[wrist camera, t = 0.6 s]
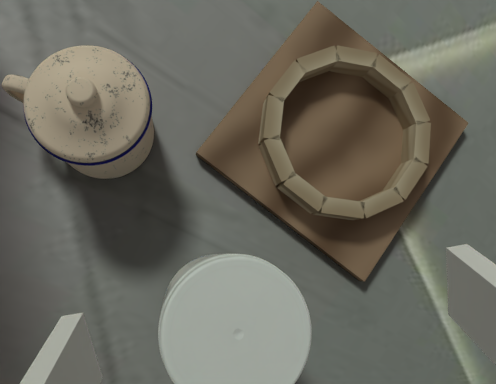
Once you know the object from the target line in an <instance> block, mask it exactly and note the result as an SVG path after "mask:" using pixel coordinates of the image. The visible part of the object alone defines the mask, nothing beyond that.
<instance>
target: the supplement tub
mask: <svg viewBox="0 0 496 384" xmlns="http://www.w3.org/2000/svg"><path fill="white" fill-rule="evenodd" d="M311 337H312V329H311V320H310V314H309V311H308V307H307V305H306V302H305V300H304V298H303V296H302V294H301V292H300V291H299V289H298V288H297V286H296V285H295V284H294V282H293V281H292V280H291V279H290V278H289V277H288V276H287V275H286V274H285V273H284V272H282V271H281V270H280V269H278V268H277V267H276V266H274V265H272V264H271V263H269V262H267V261H265V260H263V259H261V258H258V257H254V256H250V255H244V254H212V255H206V256H202V257H199V258H196V259H194V260H192V261H190V262H189V263H187V264H186V265H185V266H183V267H182V268H181V269H180V270H179V271H178V272H177V273H176V275H175V276H174V277H173V279H172V280H171V282H170V284H169V286H168V288H167V290H166V293H165V296H164V300H163V305H162V310H161V314H160V320H159V329H158V340H159V348H160V353H161V357H162V360H163V363H164V365H165V368H166V370H167V372H168V374H169V376H170V378H171V380H172V381H173V383H174V384H295V383H296V381H297V380H298V378H299V377H300V375H301V373H302V371H303V369H304V367H305V364H306V362H307V359H308V356H309V352H310V346H311Z"/></svg>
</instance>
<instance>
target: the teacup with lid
mask: <svg viewBox="0 0 496 384" xmlns="http://www.w3.org/2000/svg"><path fill="white" fill-rule="evenodd" d="M2 88H3V89H4V90H5V91H6V92H7V93H8V94H9V95H11V96H12V97H14V98H15V99H17V100H19V101H21V102H22V103H23V108H24V116H25V120H26V124H27V126H28V129H29V131H30V132H31V134H32V136H33V137H34V139H35V140H36V141H37V143H38V144H39V145H40V146H41V147H42V148H43V149H44V150H46V151H47V152H48V153H50V154H51V155H53V156H54V157H56V158H58V159H60V160H62V161H65V162H67V163H68V164H69V165H71V166H72V167H73V168H74V169H76V170H77V171H79V172H81V173H82V174H85V175H87V176H90V177H94V178H99V179H112V178H118V177H121V176H124V175H126V174H128V173H130V172H132V171H134V170H135V169H136V168H138V167H139V166H140V165H141V164H142V163H143V162H144V160H145V159H146V158H147V156H148V154H149V152H150V150H151V148H152V145H153V140H154V126H153V121H152V116H151V115H152V99H151V93H150V90H149V87H148V85H147V82H146V80H145V78H144V77H143V75H142V74H141V72H140V71H139V70H138V69H137V67H136V66H135V65H134V64H133V63H131V62H130V61H129V60H128V59H126V58H125V57H123V56H122V55H120V54H118V53H116V52H114V51H111V50H109V49H106V48H102V47H97V46H75V47H70V48H66V49H63V50H61V51H58V52H56V53H54V54H53V55H51V56H49V57H48V58H47V59H45V60H44V61H43V62H42V63H41V64H40V65H39V66H38V67H37V68H36V69H35V71H34V72H33V74H32V75H31V77H30V79H28V78H25V77H22V76H18V75H7V76H6V77H5V78H4V80H3V82H2Z"/></svg>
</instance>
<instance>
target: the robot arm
mask: <svg viewBox="0 0 496 384" xmlns="http://www.w3.org/2000/svg"><path fill="white" fill-rule="evenodd" d="M446 257H447V286H448V314H449V316H450V317H451V318H452V319H453V320H454V321H455V322H456V323H457V324H458V325H459V326H460V327H461V328H462V330H463V331H464V332H465V333H466V334H467V335H468V336H469V337H470V338H471V339H472V340H473V341H474V342H475V344H476V345H477V346H478V347H479V348H480V349H481V350H482V351H483V352H484V353H485V354H486V355H487V356H488V358H489V359H490V360H491V361H492V362H493V363H494V364H495V365H496V264H494V263H493V262H491V261H490V260H489V259H487V258H486V257H484V256H483V255H482V254H480V253H479V252H477V251H476V250H475V249H473V248H472V247H470V246H469V245H468V244H465V245H459V246H454V247H448V248H446ZM102 378H103V376H102V373H101V370H100V366H99V363H98V360H97V356H96V353H95V350H94V347H93V343H92V340H91V337H90V334H89V330H88V327H87V324H86V320H85V317H84V314H83V313H77V314H72V315H66V316H61V318H60V320H59V321H58V323H57V324H56V326H55V328H54V329H53V331H52V332H51V334H50V336H49V337H48V339H47V340H46V342H45V344H44V345H43V347H42V349H41V350H40V352H39V353H38V355H37V357H36V358H35V360H34V361H33V363H32V365H31V366H30V368H29V369H28V371H27V373H26V374H25V376H24V377H23V379H22V381H21V382H20V384H100V383H101V381H102Z"/></svg>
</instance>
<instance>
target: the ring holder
mask: <svg viewBox="0 0 496 384" xmlns="http://www.w3.org/2000/svg"><path fill="white" fill-rule="evenodd" d="M467 125H468V122H467V121H465V120H464V119H463V118H462V117H460V116H459V115H458V114H457V113H455V112H454V111H453V110H452V109H451V108H449V107H448V106H447V105H446V104H444V103H443V102H442V101H441V100H439V99H438V98H437V97H436V96H434V95H433V94H432V93H431V92H429V91H428V90H427V89H426V88H425V87H423V86H422V85H421V84H420V83H418V82H417V81H416V80H415V79H413V78H412V77H411V76H410V75H408V74H407V73H406V72H405V71H403V70H402V69H401V68H400V67H398V66H397V65H396V64H395V63H394V62H392V61H391V60H390V59H389V58H387V57H386V56H385V55H384V54H382V53H381V52H380V51H379V50H377V49H376V48H375V47H374V46H372V45H371V44H370V43H369V42H368V41H366V40H365V39H364V38H363V37H361V36H360V35H359V34H358V33H356V32H355V31H354V30H353V29H351V28H350V27H349V26H348V25H346V24H345V23H344V22H343V21H342V20H340V19H339V18H338V17H337V16H335V15H334V14H333V13H332V12H330V11H329V10H328V9H327V8H325V7H324V6H323V5H322V4H320V3H319V2H318V1H317V2H316V4H315V5H314V6H313V7H312V9H311V10H310V11H309V12H308V14H307V15H306V16H305V17H304V19H303V20H302V21H301V22H300V24H299V25H298V26H297V27H296V29H295V30H294V31H293V32H292V34H291V35H290V36H289V37H288V39H287V40H286V41H285V42H284V44H283V45H282V46H281V47H280V49H279V50H278V51H277V52H276V54H275V55H274V56H273V57H272V59H271V60H270V61H269V62H268V64H267V65H266V66H265V67H264V69H263V70H262V71H261V72H260V73H259V75H258V76H257V77H256V78H255V80H254V81H253V82H252V83H251V85H250V86H249V87H248V88H247V90H246V91H245V92H244V93H243V95H242V96H241V97H240V98H239V100H238V101H237V102H236V103H235V105H234V106H233V107H232V108H231V110H230V111H229V112H228V113H227V115H226V116H225V117H224V118H223V120H222V121H221V122H220V123H219V125H218V126H217V127H216V128H215V130H214V131H213V132H212V133H211V135H210V136H209V137H208V138H207V140H206V141H205V142H204V143H203V145H202V146H201V147H200V148H199V150H198V151H197V152H196V155H197V156H198V157H199V158H201V159H202V160H203V161H205V162H206V163H207V164H208V165H210V166H211V167H212V168H214V169H215V170H216V171H218V172H219V173H220V174H221V175H223V176H224V177H225V178H227V179H228V180H229V181H231V182H232V183H233V184H234V185H236V186H237V187H238V188H240V189H241V190H242V191H244V192H245V193H246V194H247V195H249V196H250V197H251V198H253V199H254V200H255V201H257V202H258V203H259V204H260V205H262V206H263V207H264V208H266V209H267V210H268V211H269V212H271V213H272V214H273V215H275V216H276V217H277V218H279V219H280V220H281V221H282V222H284V223H285V224H286V225H288V226H289V227H290V228H292V229H293V230H294V231H295V232H297V233H298V234H299V235H301V236H302V237H303V238H305V239H306V240H307V241H308V242H310V243H311V244H312V245H314V246H315V247H316V248H318V249H319V250H320V251H321V252H323V253H324V254H325V255H327V256H328V257H329V258H331V259H332V260H333V261H334V262H336V263H337V264H338V265H340V266H341V267H342V268H343V269H345V270H346V271H347V272H349V273H350V274H351V275H353V276H354V277H355V278H356V279H358V280H359V281H364V282H365V280H366V279H367V277H368V276H369V274H370V273H371V271H372V269H373V268H374V266H375V265H376V263H377V262H378V260H379V259H380V257H381V256H382V254H383V253H384V251H385V250H386V248H387V247H388V245H389V244H390V242H391V240H392V239H393V237H394V236H395V234H396V233H397V231H398V230H399V228H400V227H401V225H402V224H403V222H404V221H405V219H406V218H407V216H408V215H409V213H410V212H411V210H412V208H413V207H414V205H415V204H416V202H417V201H418V199H419V198H420V196H421V195H422V193H423V192H424V190H425V189H426V187H427V186H428V184H429V183H430V181H431V179H432V178H433V176H434V175H435V173H436V172H437V170H438V169H439V167H440V166H441V164H442V163H443V161H444V160H445V158H446V157H447V155H448V154H449V152H450V150H451V149H452V147H453V146H454V144H455V143H456V141H457V140H458V138H459V137H460V135H461V134H462V132H463V131H464V129H465V128H466V126H467Z"/></svg>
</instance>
